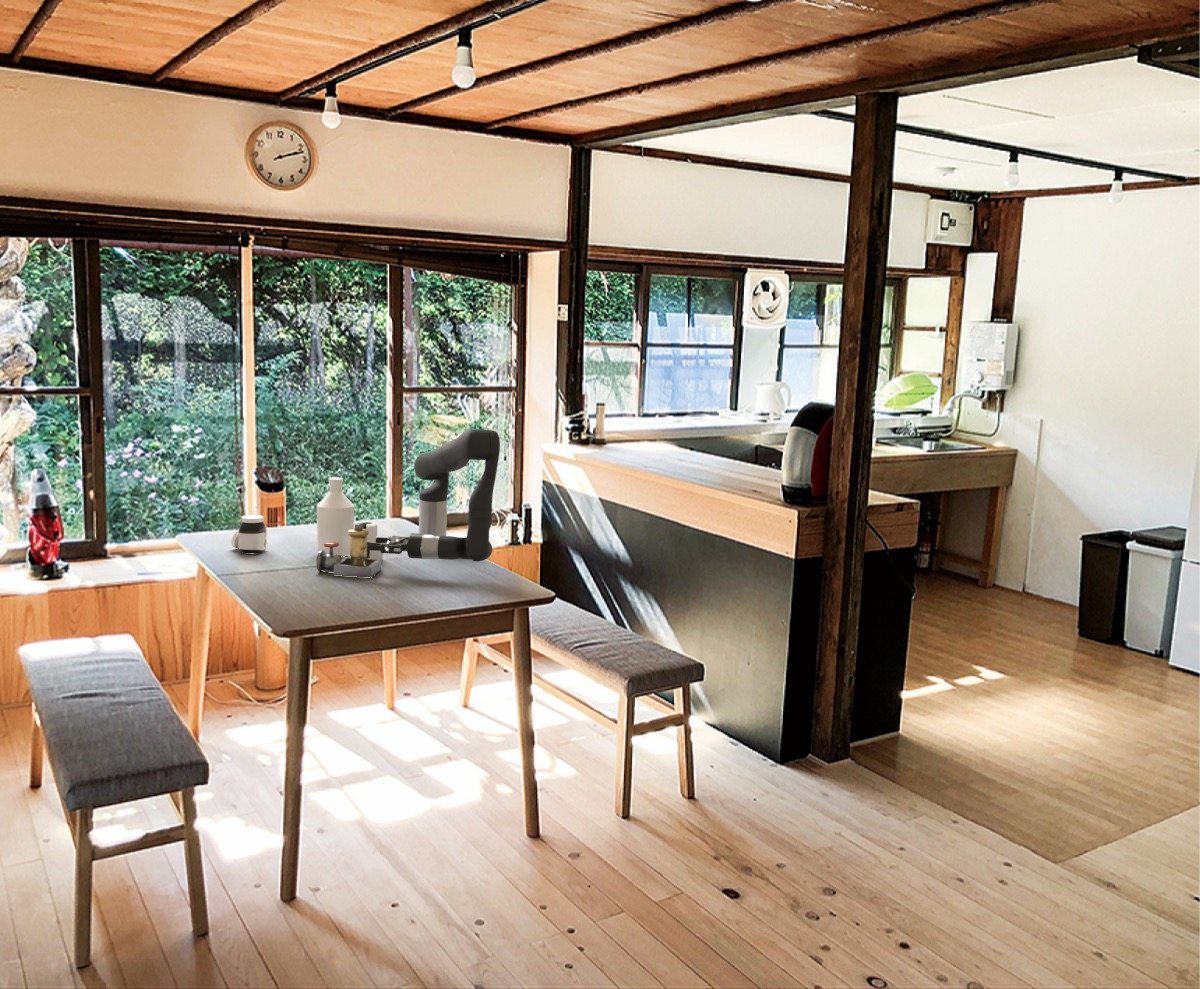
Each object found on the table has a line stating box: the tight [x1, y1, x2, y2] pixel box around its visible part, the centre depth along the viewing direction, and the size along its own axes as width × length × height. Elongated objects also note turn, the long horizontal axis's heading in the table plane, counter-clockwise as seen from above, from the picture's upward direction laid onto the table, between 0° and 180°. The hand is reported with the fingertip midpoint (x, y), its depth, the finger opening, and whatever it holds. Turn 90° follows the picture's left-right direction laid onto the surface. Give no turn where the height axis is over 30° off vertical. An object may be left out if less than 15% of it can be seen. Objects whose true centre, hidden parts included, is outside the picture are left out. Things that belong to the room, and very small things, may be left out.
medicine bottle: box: [361, 521, 384, 560], centre depth 340 cm, size 7×7×12 cm
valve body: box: [348, 522, 369, 566], centre depth 321 cm, size 6×6×15 cm
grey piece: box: [316, 542, 382, 578], centre depth 322 cm, size 11×17×9 cm, turn 87°
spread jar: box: [230, 514, 268, 554], centre depth 345 cm, size 12×11×12 cm
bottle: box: [316, 476, 355, 556], centre depth 345 cm, size 12×12×25 cm
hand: (372, 543), depth 321 cm, fingers open, 8 cm apart
